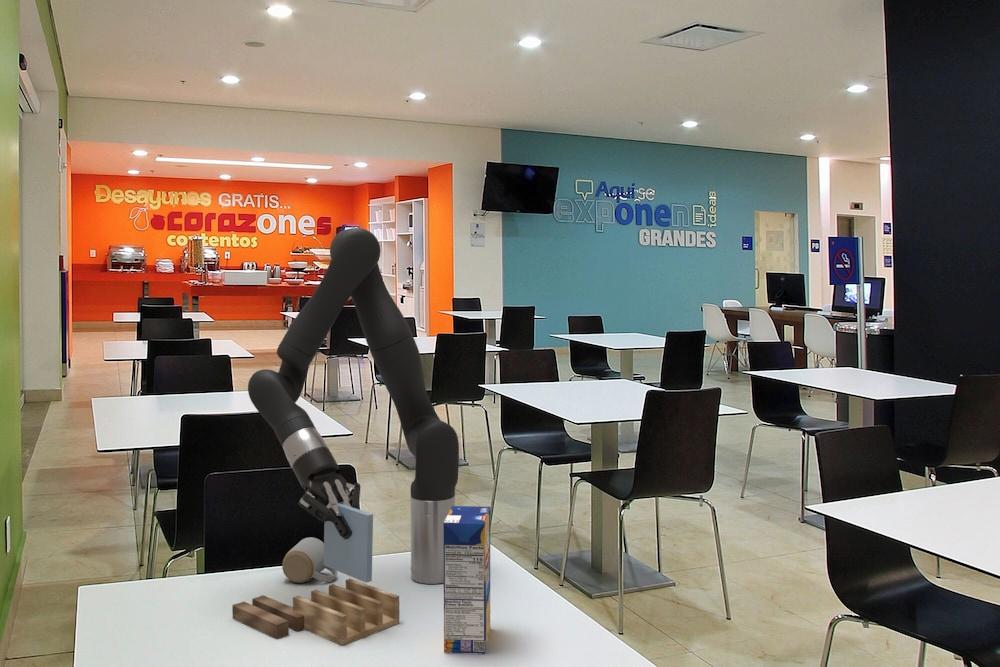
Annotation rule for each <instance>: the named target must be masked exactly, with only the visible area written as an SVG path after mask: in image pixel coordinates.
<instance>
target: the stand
mask: <svg viewBox="0 0 1000 667" xmlns="http://www.w3.org/2000/svg"><path fill="white" fill-rule="evenodd" d="M251 600H252V601H251V602H252V604H251V603H248V602H246V601H240V602H239V603H233V604H232V605H231V606H232V610H231V611H232V619H233V620H235V621H237V622H239V623H242V624H244V625H246V626H248V627H250V628H252V629H254V630H256V631H259V632H260V633H261V632H262V633H263V634H266V635H268V636H269V637H272V638H274V639H276V640H278V639H281V638H284V637H287V636H289V634H290V632H289V629H290V630H293V631H295V632H300V631H304V630H305V629H304V615H302V614H300V613H297V612H295V611H293V606H290V605H288V604H286V603H284V602H281V601H279V600H277V599H276V600H275V599H274V598H271V597H268V596H267V595H260V596H257V597H254V598H252V599H251Z"/></svg>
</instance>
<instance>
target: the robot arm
mask: <svg viewBox="0 0 1000 667" xmlns="http://www.w3.org/2000/svg"><path fill="white" fill-rule="evenodd" d="M381 250H382V249H381V245H380V242H379V240H378V238H377V236H376V235H374V234H373V232H371V231H369V230H368V229H365V228H360V227H352V228H347V229H344V230H341V231H339V232H338V233H337V234H336V235H335V236H334V237H333V239H332V240H331V242H330V248H329V256H330V259H331V260H330V262H329V264H328V267H327V270H326V271H325V274H324V275H323V276H322V279H321V281H320V283H319V284H318V286H317V288H316V289H315V291H314V292H313V294H312V295H311V296H310V297H309V299H308V300H307V302H306V303H305V304H304V306H303V307H302V308H301V309H300V311H299V312H298V314H297V315H296V316H295V318H294V320H293V321H292V323H291V324H290V326H289V328H288V330H286V333H285V334H284V336H283V338H282V340H281V341H280V343H279V345H278V347H277V349H276V354H277V356H278V358H279V359H280V361H281V363H280V367H279V370H278V371H276V370H273V369H266V368H265V369H263V368H262V369H260V370H258V371H256V372H254V373H253V374H252V375H251V376H250V378H249V380H248V383H247V392H248V396H249V399H250V402H251V403H252V405H253V406H254V407H255V409H256V410H257V411H258V413H259V414H260V416H261V417H262V418H263V419H264V420H265V422H267V423H268V425H269V426H270V427H271V428H272V430H273V431H274V433H275V436H276V438H277V440H278V441H279V444H280V445H281V447H282V449H283V451H284V454H285V457H286V459H287V462H288V463H289V465H290V467H291V469H292V471H293V473H294V475H295V476H296V478H297V480H298V482H299V484H300V486H301V487H302V488H303V489H304V494H303V495H302V497H301V498H300V499H299V501H298V503H297V504H298V506H299V507H301V508H302V509H303V510H304V511H306V512H308V513H309V514H310V515H311V516H313V517H315V518H316V519H317V520H319V521H320V522H322V523H324V522H326V521H330V522H331V523H333V524H334V525H335V527H336V529H337V531H338V533H339V535H340V536H341V537H343V539H348V538H349V537H350V536H351V535H352V531H351V529H350V527H349V525H348V524H347V522H346V520H345V518H344V516H341V515H342V512H341V510H340V509H339V507H338V503H341V504H344V505H347V506H350V507H353V508H356V509H359V508H360V501H361V500H360V497H361V484H360V483H359V482H354V484H352V483H349V482H347V479H345V478H344V477H343V476H342V474H341V472H340V468H339V465H338V463H337V461H336V459H335V458H334V456H333V454H332V452H331V451H330V448H329V446H328V445H327V443H326V441H325V439H324V438H323V436H322V435H321V434H320V433H319V431H318V429H317V428H316V426H315V425H314V422H313V421H312V418H310V415H309V414H308V413H307V411H306V410H305V409H304V408H302V407H301V406H300V405H298V404H297V401H298V400H299V398H300V397H301V394H302V392H303V388H304V386H305V382H306V380H307V376H308V373H309V370H310V365H311V363H312V361H313V360H314V358H315V357H316V356H317V354H318V351H319V350H320V348H321V346H322V345H323V343H324V341H325V340H326V338H327V336H328V334H329V332H330V331H331V329H332V327H333V325H334V324H335V321H336V320H337V318H338V316H339V314H340V313H341V311H342V310H343V308H344V307H345V305H346V303H347V302H348V301H349V299H350V298H351V299H352V302H353V304H354V308H355V311H356V314H357V317H358V320H359V325H360V328H361V329H362V333H363V335H364V338H365V341H366V345H367V347H368V350H369V352H370V354H371V357H372V359H373V362H374V365H375V367H376V370H377V371H378V372H379V376H380V378H381V379H382V382H383V384H384V386H385V388H386V390H387V392H388V394H389V396H390V398H391V399H392V402H393V405H394V406H395V409H396V412H397V415H398V418H399V422H400V425H401V428H402V432H403V436H404V439H405V443H406V446H407V448H408V450H409V452H410V453H411V454H412V455H413V456H414V457H415V469H414V470H415V474H414V480H413V481H412V482H411V483H410V578H411V579H412V580H413V581H414V582H416V583H420V584H426V585H427V584H430V585H433V584H434V585H435V584H442V583H443V584H444V521H445V519H446V517H447V515H448V513H449V511H450V509H451V507H452V506H456V486H457V484H458V481H459V466H460V465H459V463H460V462H459V458H460V445H459V436H458V433H457V431H456V430H455V429H454V427H452V425H450V424H448V423H447V422H445V421H443V420H441V419H440V417H439V416H438V414H437V412H436V410H435V408H434V406H433V404H432V402H431V400H430V398H429V395H428V393H427V392H428V391H427V389H426V385H425V384H426V383H425V378H424V366H423V360H422V357H421V353H420V350H419V348H418V345H417V342H416V339H415V338H414V335H413V333H412V330H411V328H410V326H409V324H408V322H407V320H406V318H405V316H404V314H402V312H401V310H400V308H399V306H398V305H397V304H396V302H395V301H394V299H393V298H392V296H391V294H390V292H389V291H388V289H387V287H386V286H387V285H386V284H385V281H384V279H383V276H382V273H381V270H380V269H381V268H380V266H379V261H380V258H381Z"/></svg>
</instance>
